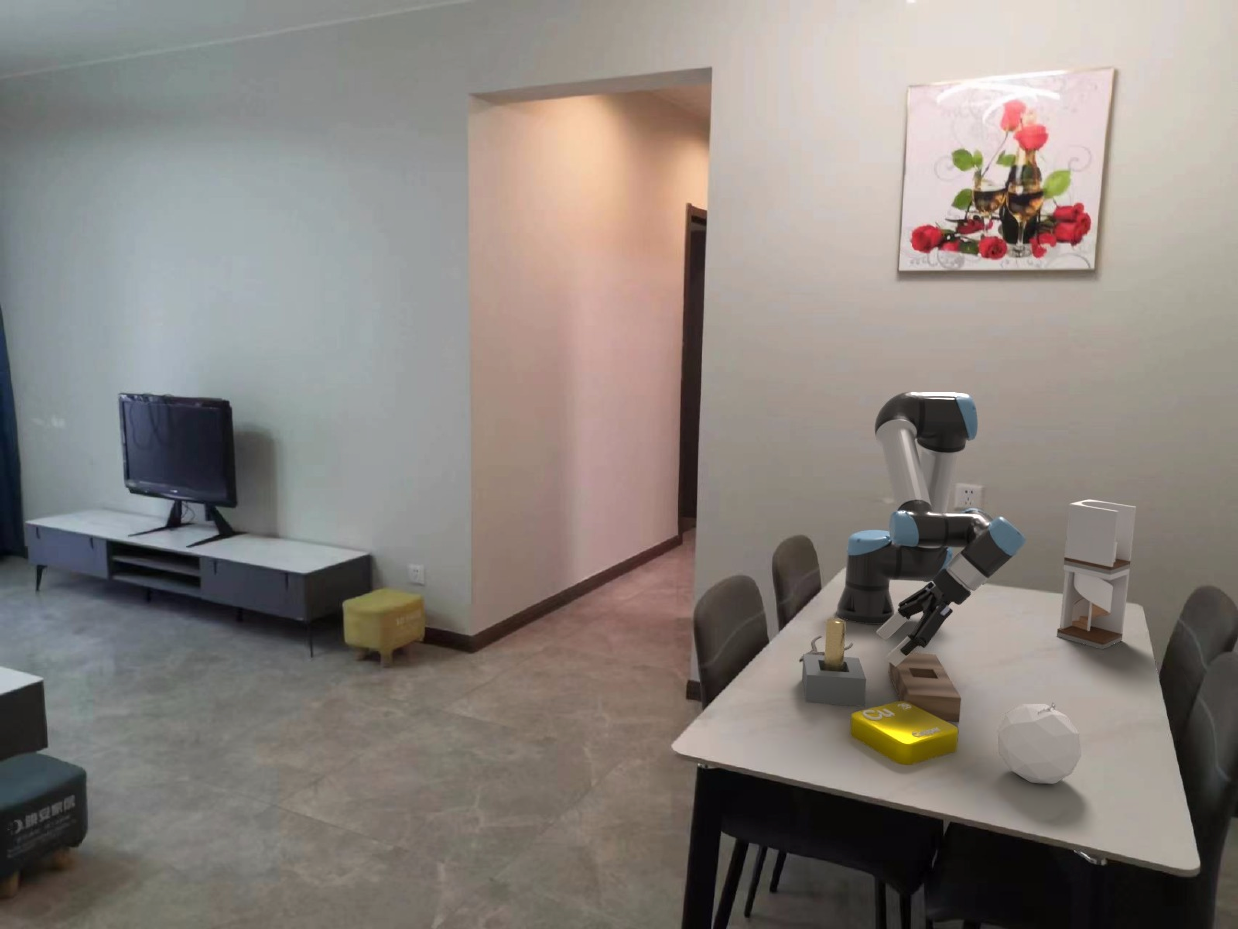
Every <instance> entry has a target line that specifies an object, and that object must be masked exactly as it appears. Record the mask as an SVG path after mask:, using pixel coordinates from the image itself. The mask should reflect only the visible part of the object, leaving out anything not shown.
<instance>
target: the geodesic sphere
mask: <svg viewBox="0 0 1238 929" xmlns="http://www.w3.org/2000/svg"><path fill="white" fill-rule="evenodd" d="M1054 704H1055V702H1051V706H1050V705H1048V704H1046V703H1022V704H1021V705H1019V706H1017V707H1015V708H1013V709H1011V710H1010V711H1008V712H1006V713H1005V715H1004V717H1003V719H1002V721H1001V724H1000V725H999V727H998V730H997V753H998V754H999V756H1000V757H1001V759H1002V760H1003V762H1005V763H1004V764H1006V766H1007V767H1008V768H1009V770H1010V771H1012V772H1014V773H1015V774H1016V775H1018V776H1020V777H1021V778H1023V779H1024V780H1026V781H1028V782H1030V783H1033V784H1034V783H1035V784H1049V785H1050V784H1052V785H1055V784H1056V783H1058V782H1060V781H1061V780H1063V779H1065V778H1067V777H1069V776H1071V775H1072V774H1073V773H1074V770H1075V768H1076V767H1077V765H1078V763H1079V761H1080V760H1081V757H1082V752H1081V751H1082V749H1081V740H1080V733H1079V731H1078V730H1077V728H1076V727H1075V726H1074V724H1073V722H1072V721H1071V720H1070V718H1069V717H1068V716H1067V715H1066V714H1064V713H1062V712H1060V711H1058V710H1057V706H1056V704H1055V705H1054Z"/></svg>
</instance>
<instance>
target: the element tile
mask: <svg viewBox="0 0 1238 929" xmlns="http://www.w3.org/2000/svg"><path fill="white" fill-rule="evenodd" d="M849 727H850V730H849V732H850V733H849V734H850V736H851V737H853V738H854V739H856V740H857V741H858V742H860V743H862V744H864V745H866V746H868V747H869V748H871V749H873V750H874V751H876V752H878V753H879V754H881V755H883V756H885V757H886V758H888V759H889V760H891V761H893V762H894V763H897V764H900V765H905V766H906V765H914V764H917V763H921V762H925V761H927V760H931V759H935V758H938V757H942V756H944V755H948V754H951V753H955V752H956V751H957V749H958V742H959V728H958V727H957V726H956V725H954V724H953V723H950V722H949V721H945V720H942V719H940V718H938V717H936V716H934V715H932V714H930V713H928V712H926V711H924V710H922V709H920V708H918V707H916V706H914V705H912V704H910V703H908V702H905V701H900V700H899V701H894V702H890V703H885V704H882V705H879V706H874V707H870V708H866V709H861V710H858V711H854V712H853V713H851V716H850V726H849Z"/></svg>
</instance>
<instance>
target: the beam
mask: <svg viewBox="0 0 1238 929" xmlns="http://www.w3.org/2000/svg"><path fill="white" fill-rule="evenodd" d="M888 663H889V665H888V673H889V676H890V679H891V680H892V683H893V686H894V687H895V690H896V694H897V696H898V699H899V701H905V702H908V703H910V704H912V705H914V706H916V707H918V708H920V709H922V710H924V711H926V712H928V713H930V714H932V715H934V716H936V717H938V718H940V719H942V720H944V721H946V722H960V717H961V716H960V715H961V705H962V704H961V701H962V697H961V695H960V694H959V692H958V690H957V688H956V687H955V685H954V683H953V681H952V680H951V678H950V677H949V675H948V673H947V671H946V670H945V668H944V666H943V665H942V663H941V661H940V660H939V657H938V656H937V655H936V654H930V653H916V652H911V653H910V654H909V655H908V656H907V657H906V658H905V659H904V660H903V661H902V662H901V663H900V664H898V665H897V666H896V667H895V666H894V665H893V664H891V663H890V662H889V661H888Z"/></svg>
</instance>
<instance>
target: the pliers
mask: <svg viewBox="0 0 1238 929" xmlns="http://www.w3.org/2000/svg"><path fill="white" fill-rule="evenodd" d="M821 638H823V637H822V635H818V636H815V638H813V639H812V640H811V642H810V644H811V647H812V649H811V650H810V651H808V652H806V653H805V654H809V655H824V656H825V651H818V647H817V645H816V644H815V643H816V641H817V640H819V639H821ZM853 644H854V643H853V642H851V643H850V644H849V645H848V646H846V647H844V652H845V651H847V650H849V649H852V647H853V646H854V645H853ZM802 662H803V655H801V657H800V658H799V663H802Z"/></svg>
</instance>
